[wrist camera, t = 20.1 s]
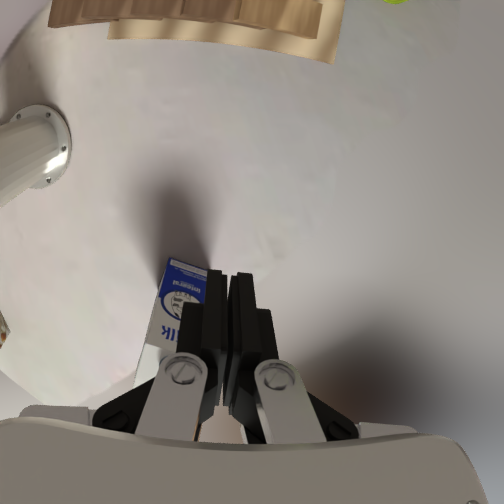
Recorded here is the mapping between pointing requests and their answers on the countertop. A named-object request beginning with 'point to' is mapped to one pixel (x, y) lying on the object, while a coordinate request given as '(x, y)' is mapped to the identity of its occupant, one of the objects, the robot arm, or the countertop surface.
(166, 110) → the countertop surface
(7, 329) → the coffee box
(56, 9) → the domino
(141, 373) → the milk carton
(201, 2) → the domino
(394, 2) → the soap dispenser
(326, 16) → the runner
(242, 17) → the domino
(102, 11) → the domino
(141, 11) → the domino
